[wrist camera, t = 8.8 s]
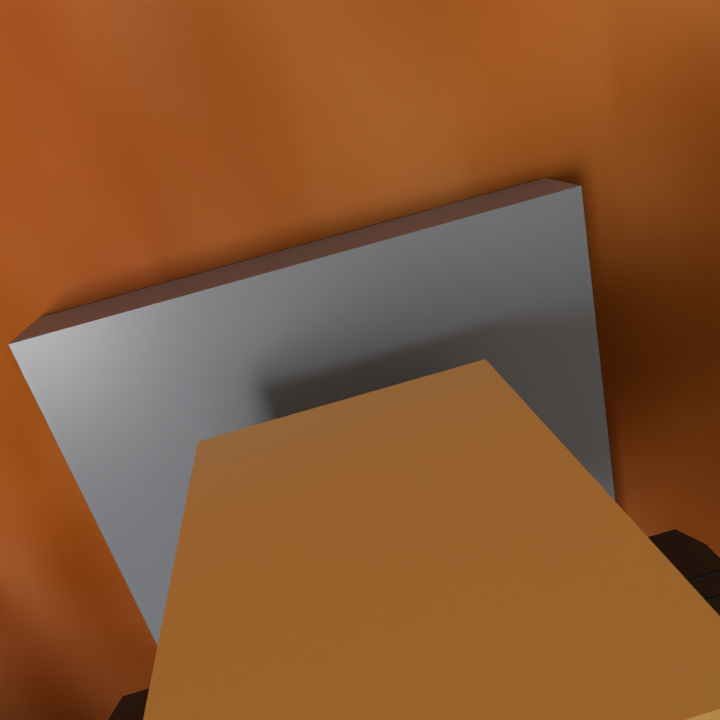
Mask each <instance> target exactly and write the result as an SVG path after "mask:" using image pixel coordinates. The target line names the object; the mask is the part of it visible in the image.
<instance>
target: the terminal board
mask: <svg viewBox="0 0 720 720" xmlns="http://www.w3.org/2000/svg"><path fill="white" fill-rule="evenodd" d="M9 346H10V348H11V350H12V352H13V354H14V356H15V358H16V360H17V362H18V365H19V367H20V369H21V371H22V373H23V375H24V377H25V379H26V381H27V383H28V385H29V387H30V389H31V391H32V393H33V395H34V397H35V399H36V401H37V403H38V405H39V407H40V409H41V411H42V413H43V415H44V417H45V419H46V421H47V423H48V425H49V427H50V429H51V431H52V433H53V435H54V437H55V439H56V441H57V443H58V445H59V447H60V449H61V452H62V454H63V456H64V458H65V460H66V462H67V464H68V466H69V468H70V470H71V472H72V474H73V476H74V478H75V480H76V482H77V484H78V486H79V488H80V490H81V492H82V494H83V496H84V498H85V500H86V502H87V504H88V506H89V508H90V510H91V512H92V514H93V516H94V518H95V520H96V522H97V524H98V526H99V528H100V530H101V532H102V534H103V537H104V539H105V541H106V543H107V545H108V547H109V549H110V551H111V553H112V555H113V557H114V559H115V561H116V563H117V565H118V567H119V569H120V571H121V573H122V575H123V577H124V579H125V581H126V583H127V585H128V587H129V589H130V591H131V593H132V595H133V597H134V599H135V601H136V603H137V605H138V607H139V609H140V611H141V613H142V615H143V617H144V619H145V622H146V624H147V626H148V628H149V630H150V632H151V634H152V636H153V638H154V640H155V642H156V644H157V646H158V641H159V636H160V631H161V626H162V621H163V616H164V611H165V606H166V601H167V596H168V591H169V585H170V580H171V575H172V570H173V565H174V560H175V555H176V550H177V545H178V540H179V535H180V530H181V524H182V519H183V514H184V509H185V504H186V499H187V494H188V489H189V484H190V479H191V474H192V468H193V463H194V458H195V453H196V448H197V443H198V441H201V440H205V439H208V438H212V437H215V436H219V435H222V434H226V433H229V432H232V431H236V430H239V429H243V428H246V427H250V426H253V425H257V424H260V423H264V422H267V421H271V420H274V419H278V418H281V417H285V416H288V415H292V414H295V413H299V412H302V411H306V410H309V409H313V408H316V407H320V406H323V405H327V404H330V403H334V402H337V401H341V400H344V399H348V398H351V397H355V396H358V395H362V394H365V393H369V392H372V391H376V390H379V389H383V388H386V387H390V386H393V385H397V384H400V383H404V382H407V381H411V380H414V379H418V378H421V377H425V376H428V375H432V374H435V373H439V372H442V371H445V370H449V369H452V368H456V367H459V366H463V365H466V364H470V363H473V362H477V361H480V360H484V359H486V360H487V361H488V363H489V364H490V365H491V366H492V367H493V368H494V369H495V370H496V371H497V372H498V373H499V375H500V376H501V377H502V378H503V379H504V380H505V381H506V382H507V383H508V384H509V386H510V387H511V388H512V389H513V390H514V391H515V392H516V393H517V394H518V395H519V397H520V398H521V399H522V400H523V401H524V402H525V403H526V404H527V405H528V406H529V407H530V409H531V410H532V411H533V412H534V413H535V414H536V415H537V416H538V417H539V418H540V420H541V421H542V422H543V423H544V424H545V425H546V426H547V427H548V428H549V429H550V430H551V432H552V433H553V434H554V435H555V436H556V437H557V438H558V439H559V440H560V441H561V443H562V444H563V445H564V446H565V447H566V448H567V449H568V450H569V451H570V452H571V454H572V455H573V456H574V457H575V458H576V459H577V460H578V461H579V462H580V463H581V464H582V466H583V467H584V468H585V469H586V470H587V471H588V472H589V473H590V474H591V475H592V477H593V478H594V479H595V480H596V481H597V482H598V483H599V484H600V485H601V486H602V487H603V489H604V490H605V491H606V492H607V493H608V494H609V495H610V496H611V497H612V498H613V500H614V501H615V494H614V484H613V475H612V466H611V457H610V447H609V438H608V429H607V420H606V410H605V401H604V392H603V383H602V373H601V364H600V355H599V346H598V336H597V327H596V318H595V309H594V299H593V290H592V281H591V272H590V262H589V253H588V244H587V235H586V225H585V216H584V207H583V198H582V188H581V185H576V184H571V183H566V182H562V181H557V180H552V179H547V178H543V179H539V180H535V181H532V182H528V183H524V184H521V185H517V186H514V187H510V188H506V189H503V190H499V191H495V192H492V193H488V194H485V195H481V196H477V197H474V198H470V199H466V200H463V201H459V202H456V203H452V204H448V205H445V206H441V207H437V208H434V209H430V210H427V211H423V212H419V213H416V214H412V215H408V216H405V217H401V218H398V219H394V220H390V221H387V222H383V223H380V224H376V225H372V226H369V227H365V228H361V229H358V230H354V231H351V232H347V233H343V234H340V235H336V236H332V237H329V238H325V239H322V240H318V241H314V242H311V243H307V244H303V245H300V246H296V247H293V248H289V249H285V250H282V251H278V252H274V253H271V254H267V255H264V256H260V257H256V258H253V259H249V260H245V261H242V262H238V263H235V264H231V265H227V266H224V267H220V268H217V269H213V270H209V271H206V272H202V273H198V274H195V275H191V276H188V277H184V278H180V279H177V280H173V281H169V282H166V283H162V284H159V285H155V286H151V287H148V288H144V289H140V290H137V291H133V292H130V293H126V294H122V295H119V296H115V297H111V298H108V299H104V300H101V301H97V302H93V303H90V304H86V305H82V306H79V307H75V308H72V309H68V310H64V311H61V312H57V313H54V314H50V315H46V316H43V317H39V318H38V319H37V320H36V321H35V322H33V323H32V324H31V325H30V326H29V327H28V328H27V329H25V330H24V331H23V332H22V333H21V334H20V335H19V336H18V337H16V338H15V339H14V340H13V341H12V342H11V343H10V344H9Z"/></svg>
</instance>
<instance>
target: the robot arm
mask: <svg viewBox="0 0 720 720" xmlns="http://www.w3.org/2000/svg"><path fill="white" fill-rule="evenodd" d="M648 538H649V539H650V540H651V541H652V542H653V543H654V545H655V546H656V547H657V548H658V549H659V550H660V551H661V552H662V553H663V554H664V555H665V557H666V558H667V559H668V560H669V561H670V562H671V563H672V564H673V565H674V566H675V568H676V569H677V570H678V571H679V572H680V573H681V574H682V575H683V576H684V577H685V578H686V580H687V581H688V582H689V583H690V584H691V585H692V586H693V587H694V588H695V589H696V591H697V592H698V593H699V594H700V595H701V596H702V597H703V598H704V599H705V600H706V602H707V603H708V604H709V605H710V606H711V607H712V608H713V609H714V610H715V611H716V612H717V614H718V615H719V616H720V558H719V557H718V556H717V555H716V554H715V553H714V552H713V551H712V550H711V549H710V548H709V547H708V546H707V545H706V544H704V543H702V542H700V541H698V540H696V539H694V538H692V537H690V536H688V535H686V534H684V533H682V532H680V531H678V530H676V529H674V530H671V531H668V532H664V533H661V534H658V535H654V536H651V537H648ZM148 692H149V689H146V690H143V691H139V692H136V693H133V694H129V695H126V696H123V697H122V699H121V700H120V702H119V704H118V705H117V707H116V708H115V710H114V712H113V713H112V715H111V716H110V718H109V720H143V718H144V713H145V708H146V702H147V697H148Z"/></svg>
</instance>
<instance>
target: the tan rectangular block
mask: <svg viewBox="0 0 720 720" xmlns="http://www.w3.org/2000/svg"><path fill="white" fill-rule="evenodd" d="M143 720H720V616H719V615H718V614H717V612H716V611H715V610H714V609H713V608H712V607H711V606H710V605H709V604H708V603H707V602H706V600H705V599H704V598H703V597H702V596H701V595H700V594H699V593H698V592H697V591H696V589H695V588H694V587H693V586H692V585H691V584H690V583H689V582H688V581H687V580H686V578H685V577H684V576H683V575H682V574H681V573H680V572H679V571H678V570H677V569H676V568H675V566H674V565H673V564H672V563H671V562H670V561H669V560H668V559H667V558H666V557H665V555H664V554H663V553H662V552H661V551H660V550H659V549H658V548H657V547H656V546H655V545H654V543H653V542H652V541H651V540H650V539H649V538H648V537H647V536H646V535H645V534H644V532H643V531H642V530H641V529H640V528H639V527H638V526H637V525H636V524H635V523H634V521H633V520H632V519H631V518H630V517H629V516H628V515H627V514H626V513H625V512H624V511H623V509H622V508H621V507H620V506H619V505H618V504H617V503H616V502H615V501H614V500H613V498H612V497H611V496H610V495H609V494H608V493H607V492H606V491H605V490H604V489H603V487H602V486H601V485H600V484H599V483H598V482H597V481H596V480H595V479H594V478H593V477H592V475H591V474H590V473H589V472H588V471H587V470H586V469H585V468H584V467H583V466H582V464H581V463H580V462H579V461H578V460H577V459H576V458H575V457H574V456H573V455H572V454H571V452H570V451H569V450H568V449H567V448H566V447H565V446H564V445H563V444H562V443H561V441H560V440H559V439H558V438H557V437H556V436H555V435H554V434H553V433H552V432H551V430H550V429H549V428H548V427H547V426H546V425H545V424H544V423H543V422H542V421H541V420H540V418H539V417H538V416H537V415H536V414H535V413H534V412H533V411H532V410H531V409H530V407H529V406H528V405H527V404H526V403H525V402H524V401H523V400H522V399H521V398H520V397H519V395H518V394H517V393H516V392H515V391H514V390H513V389H512V388H511V387H510V386H509V384H508V383H507V382H506V381H505V380H504V379H503V378H502V377H501V376H500V375H499V373H498V372H497V371H496V370H495V369H494V368H493V367H492V366H491V365H490V364H489V363H488V361H487V360H486V359H484V360H480V361H477V362H473V363H470V364H466V365H463V366H459V367H456V368H452V369H449V370H445V371H442V372H439V373H435V374H432V375H428V376H425V377H421V378H418V379H414V380H411V381H407V382H404V383H400V384H397V385H393V386H390V387H386V388H383V389H379V390H376V391H372V392H369V393H365V394H362V395H358V396H355V397H351V398H348V399H344V400H341V401H337V402H334V403H330V404H327V405H323V406H320V407H316V408H313V409H309V410H306V411H302V412H299V413H295V414H292V415H288V416H285V417H281V418H278V419H274V420H271V421H267V422H264V423H260V424H257V425H253V426H250V427H246V428H243V429H239V430H236V431H232V432H229V433H226V434H222V435H219V436H215V437H212V438H208V439H205V440H201V441H198V443H197V448H196V453H195V458H194V463H193V468H192V474H191V479H190V484H189V489H188V494H187V499H186V504H185V509H184V514H183V519H182V524H181V530H180V535H179V540H178V545H177V550H176V555H175V560H174V565H173V570H172V575H171V580H170V585H169V591H168V596H167V601H166V606H165V611H164V616H163V621H162V626H161V631H160V636H159V641H158V647H157V652H156V657H155V662H154V667H153V672H152V677H151V682H150V687H149V692H148V697H147V702H146V708H145V713H144V718H143Z"/></svg>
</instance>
